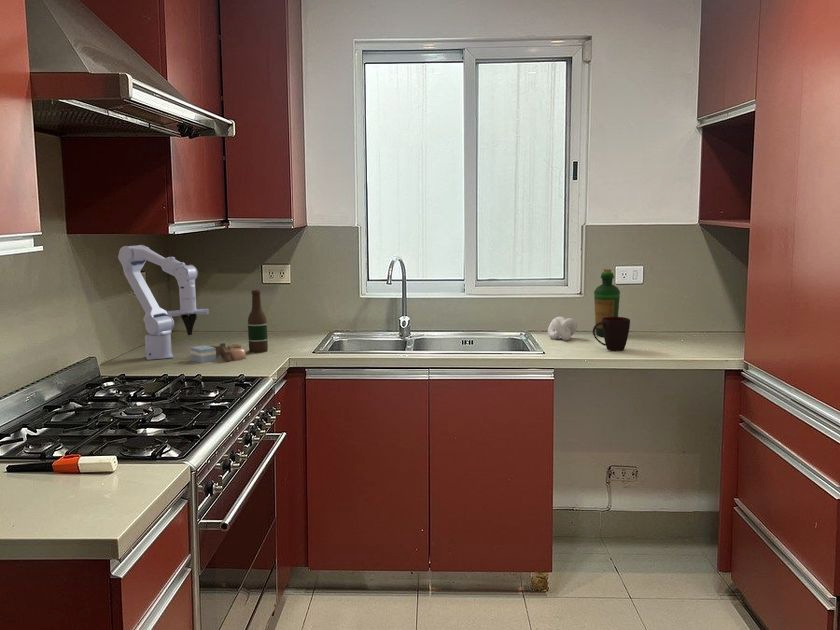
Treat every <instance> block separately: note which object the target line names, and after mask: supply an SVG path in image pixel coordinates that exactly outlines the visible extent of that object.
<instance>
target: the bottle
mask: <svg viewBox="0 0 840 630" xmlns="http://www.w3.org/2000/svg"><path fill="white" fill-rule="evenodd" d="M600 279H601V284H600V285H598V286H597V287H596V288H595V290H594V291H593V295H594V300H593V301H594V318H595V319H594V321H595V322H594V323H595V325H596V324H597V323H599V322H602V318H605V317H619V308H620V298H621V291H620V289H619V287H617V286H616V285H615V284H613V281H614V280H613V279H615V276H614V272H612V269H610V268H606V269H603V272H601V275H600ZM595 325H594V326H595ZM595 335H596V337H600V338H604V334H603V327H602V324H600V325H598V326H597V327H596V329H595Z"/></svg>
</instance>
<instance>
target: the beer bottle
mask: <svg viewBox="0 0 840 630" xmlns="http://www.w3.org/2000/svg"><path fill="white" fill-rule="evenodd" d="M261 293H262V292H261V290H260V289H253V290H251V310H250V312H249V314H248V318H247V331H248V332H247V333H248V351H249V353H254V354H256V353H257V354H259V353H266V352H268V349H269V345H268V343H269V342H268V323H267V322H268V320H267V316H266V314H265V313H264V311H263V308H262V302H261V301H262V300H261Z"/></svg>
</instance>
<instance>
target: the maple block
mask: <svg viewBox="0 0 840 630" xmlns="http://www.w3.org/2000/svg"><path fill="white" fill-rule="evenodd" d="M226 347H227V349H228V350H230V349H235V348H242V345H241V344H238V343H236V344H235V343H234V344H227V346H226Z"/></svg>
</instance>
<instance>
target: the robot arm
mask: <svg viewBox="0 0 840 630" xmlns="http://www.w3.org/2000/svg"><path fill="white" fill-rule="evenodd" d="M117 259H118V260H119V263H120V264H121V266H122V270H123V274H124V277H125V278H126V280H127V282H128V284H129V286H130V287H131V289H132V291H133V293H134V294H135V297H136V299H137V300H138V302H139V304H140V306H141V308H142V309H143V311H144V313H145V314H144V316H143V319H142V320H143V322H144V326H145V331H146V332H147V333H148V334H146V335H144V342H145V343H144V344H145V345H144V346H145V349H144V355H145V358H146V361H149V360H161V359H174V355H173V353H172V339H171V337H172V336H171V334H172V331H173V329H174V327H175V320H174V318H173V317H180V318H181V321H182V322H183V324H184V327H185V329H186V333H187V336H193V329H194V325H195V322H196V320H197V317H198V315H200V316H201V315H209V314H210V309H209V308H197V299H196V297H197V295H196V279H197V278H198V276H199V271H198V269H197V267H195V265H194V264H188V265H187V264H186V263H185V262H184V261H182V262H181V261H179V260H177V259H176V257H174V256H168V257H164V256H162V255H160V254H159V253H157V252H156V251H154V250H152V249H150V247H148V246H145V245H144V244H139V245H129V246H128V245H124V246H122V247H120V248H119V252H118V255H117ZM147 261H148V262H150V263H153V264H155V265H157V266H160V267H161V270H162V271H163V272H165V273H166V274H169V275H171V276H172V277H174V278H175V279H176V281H177V285H178V291H179V309H175V310H166V309H163V308H162V307H160V306H159V303H158V302H157V300H156V298H155V297H154V295H153V293H152V291H151V289H150V287H149V286H148V284H147V282H146V279H144V277H143V275H142V273H141V270H142V269H143V267H145V266H144V265H145V263H146V262H147Z"/></svg>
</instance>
